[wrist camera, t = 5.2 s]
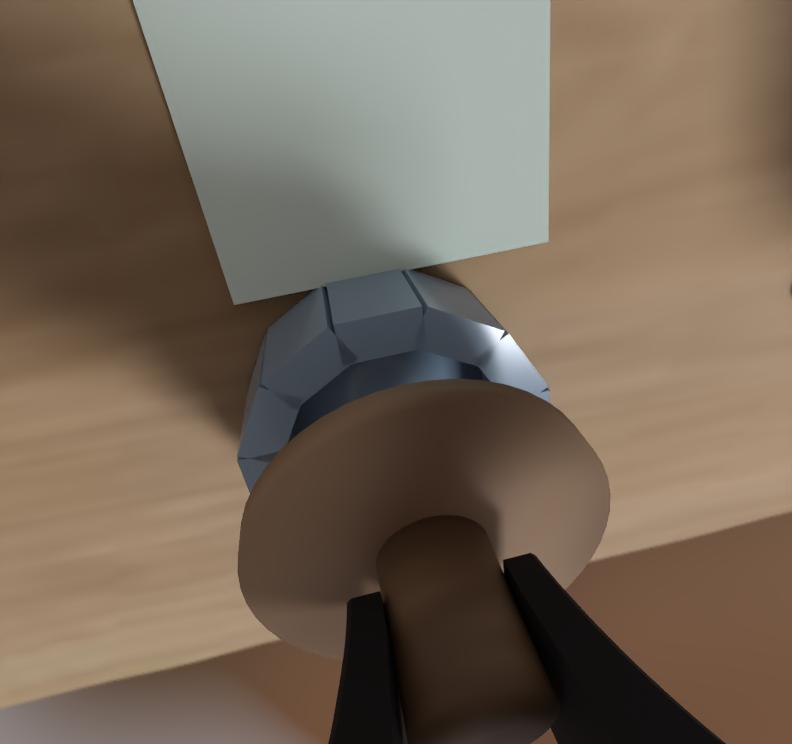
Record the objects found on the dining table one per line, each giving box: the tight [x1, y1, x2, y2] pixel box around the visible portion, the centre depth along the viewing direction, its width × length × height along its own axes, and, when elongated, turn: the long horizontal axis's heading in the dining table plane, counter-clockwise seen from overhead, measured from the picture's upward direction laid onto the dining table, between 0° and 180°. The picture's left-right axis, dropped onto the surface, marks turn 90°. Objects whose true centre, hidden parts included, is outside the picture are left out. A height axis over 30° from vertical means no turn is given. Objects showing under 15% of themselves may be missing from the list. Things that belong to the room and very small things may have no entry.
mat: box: [133, 0, 550, 305], centre depth 13 cm, size 10×10×1 cm
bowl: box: [237, 269, 550, 493], centre depth 16 cm, size 9×9×4 cm
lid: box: [238, 379, 610, 744], centre depth 10 cm, size 8×8×4 cm
